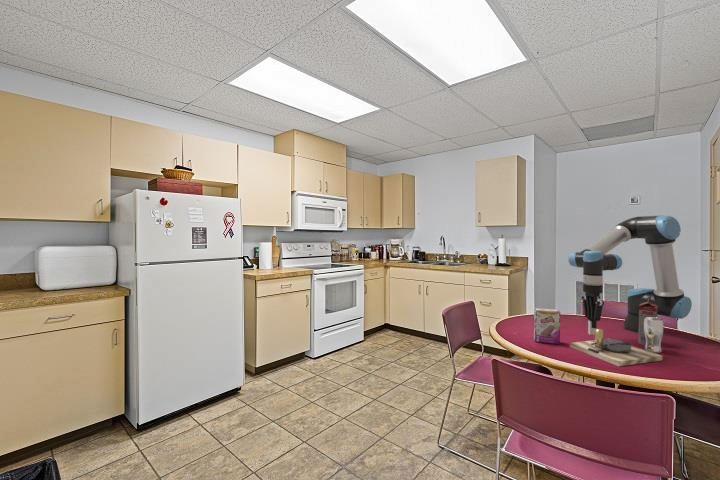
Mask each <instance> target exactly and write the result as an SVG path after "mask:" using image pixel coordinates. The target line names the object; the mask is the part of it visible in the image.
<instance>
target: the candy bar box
mask: <svg viewBox="0 0 720 480" xmlns="http://www.w3.org/2000/svg"><path fill="white" fill-rule="evenodd" d="M533 310H534V311H533V313H534V316H533V340H534V342H535V343H543V344H552V345H554V344H555V345H560V344H561V343H560V339H561V311H560V310H559V309H549V308H548V309H547V308H537V307H534V309H533Z"/></svg>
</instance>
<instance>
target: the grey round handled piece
mask: <svg viewBox="0 0 720 480" xmlns="http://www.w3.org/2000/svg"><path fill="white" fill-rule="evenodd" d="M594 340H595V343H591V344H592V345H595V347H597V348H602V349H604V350H607V351H611V352H617V353H629V352H631V346H632V344H630V343H628V342H626V341H623V340H619V339H615V338H614V339H613V338H604V329H602V328H596V329H595V335H594Z"/></svg>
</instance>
